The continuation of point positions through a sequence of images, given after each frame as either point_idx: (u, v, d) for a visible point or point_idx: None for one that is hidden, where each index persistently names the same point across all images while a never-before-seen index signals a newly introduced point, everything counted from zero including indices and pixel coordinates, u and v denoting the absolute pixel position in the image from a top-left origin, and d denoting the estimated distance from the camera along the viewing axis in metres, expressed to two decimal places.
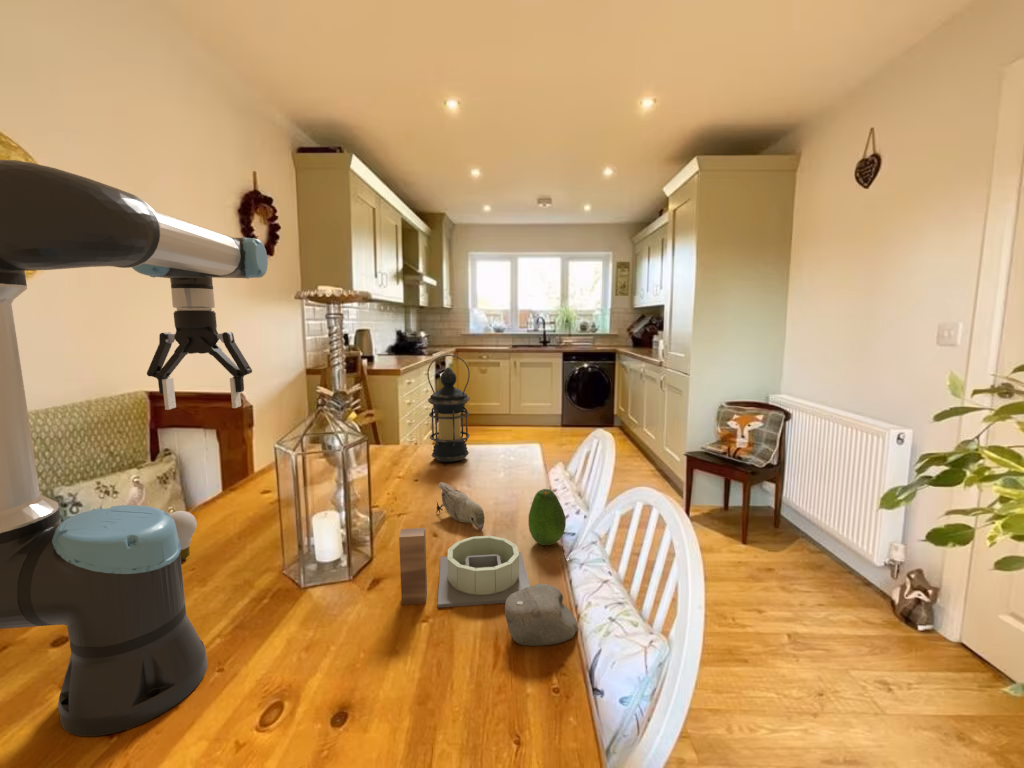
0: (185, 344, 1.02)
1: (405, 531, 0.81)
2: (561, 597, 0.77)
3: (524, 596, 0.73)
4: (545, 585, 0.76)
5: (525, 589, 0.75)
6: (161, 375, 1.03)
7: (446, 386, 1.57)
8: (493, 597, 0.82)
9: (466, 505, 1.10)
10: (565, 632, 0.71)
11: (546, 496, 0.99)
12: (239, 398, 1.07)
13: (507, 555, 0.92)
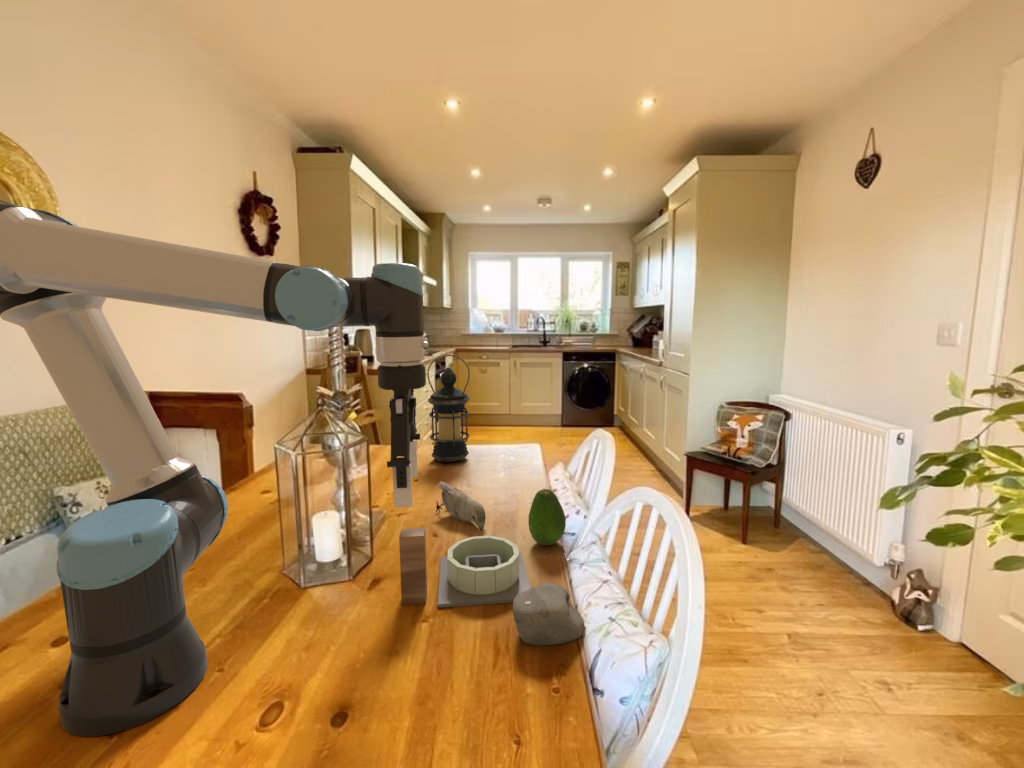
0: None
1: (405, 531, 0.81)
2: (568, 596, 0.77)
3: (531, 595, 0.73)
4: (552, 585, 0.76)
5: (532, 589, 0.75)
6: None
7: (446, 386, 1.57)
8: (493, 597, 0.82)
9: (467, 504, 1.10)
10: (573, 632, 0.71)
11: (546, 496, 0.99)
12: (407, 495, 0.73)
13: (507, 555, 0.92)
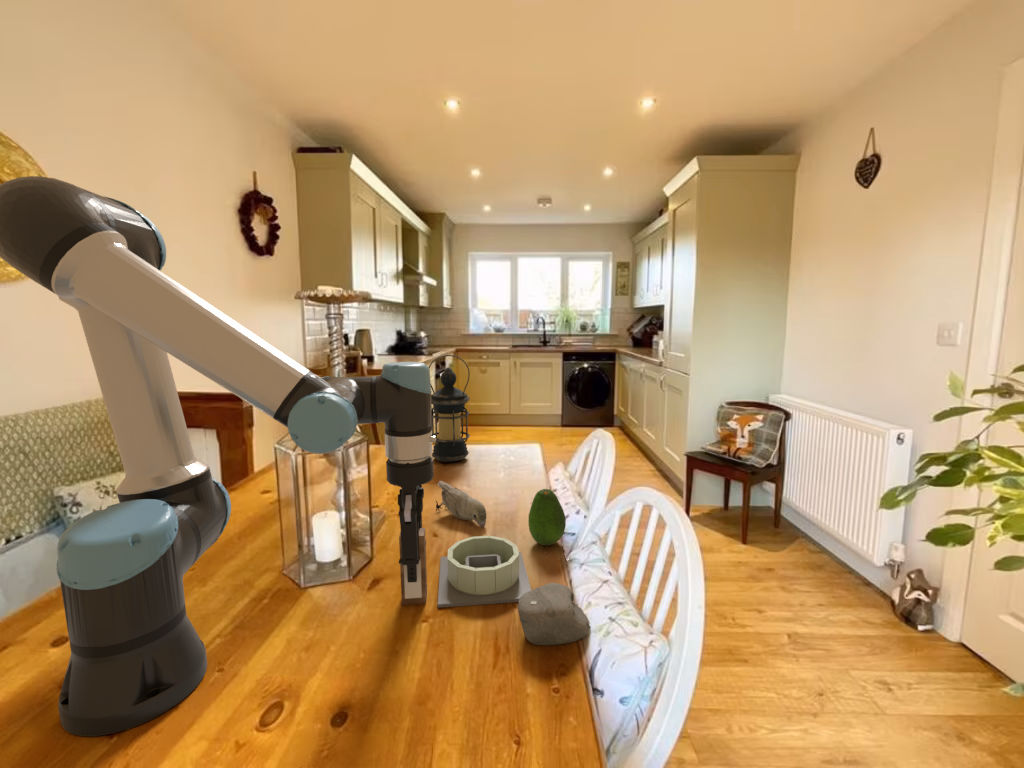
0: None
1: None
2: (572, 596, 0.77)
3: (537, 595, 0.73)
4: (556, 584, 0.76)
5: (537, 589, 0.75)
6: None
7: (446, 386, 1.57)
8: (493, 597, 0.82)
9: (468, 503, 1.11)
10: (578, 631, 0.71)
11: (546, 496, 0.99)
12: (417, 588, 0.80)
13: (507, 555, 0.92)
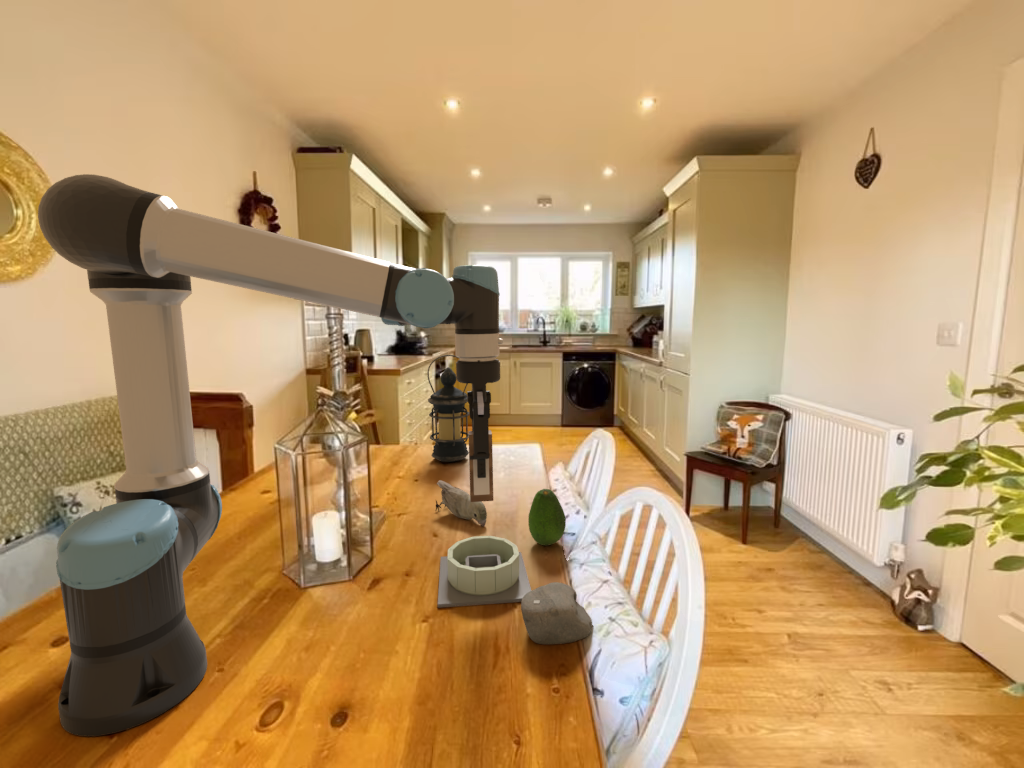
0: None
1: None
2: (575, 595, 0.77)
3: (540, 595, 0.74)
4: (559, 584, 0.77)
5: (540, 588, 0.76)
6: None
7: (446, 386, 1.57)
8: (493, 597, 0.82)
9: (468, 502, 1.12)
10: (581, 630, 0.71)
11: (546, 496, 0.99)
12: (485, 484, 0.84)
13: (507, 555, 0.92)
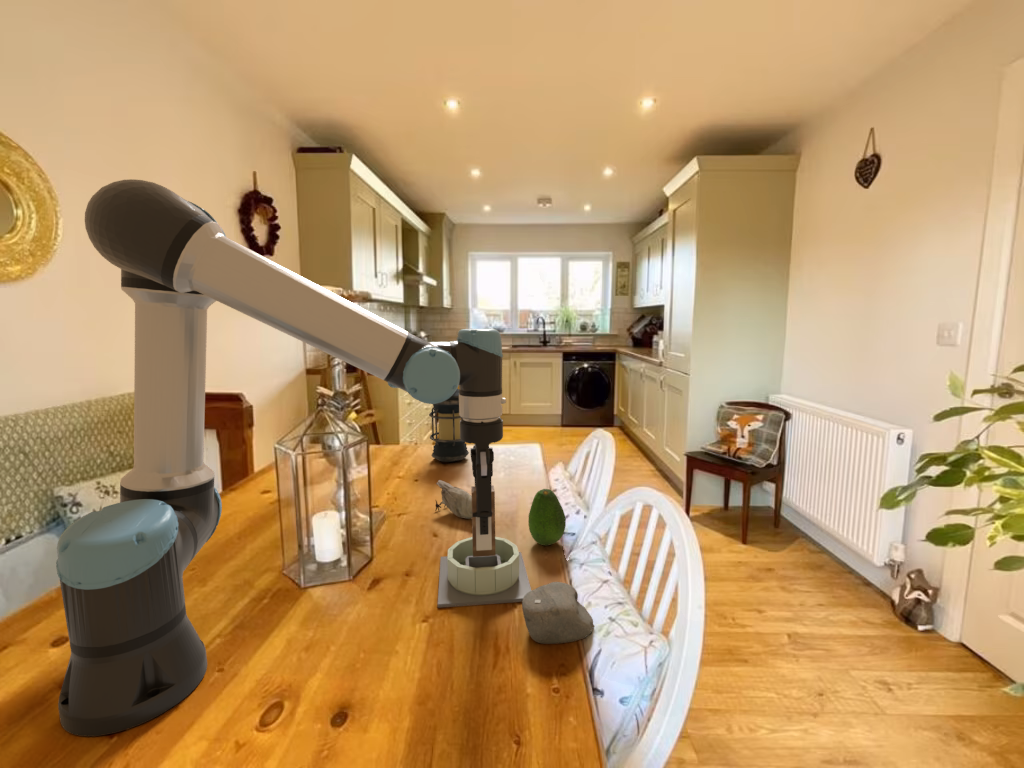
0: None
1: None
2: (576, 595, 0.77)
3: (541, 594, 0.74)
4: (560, 583, 0.77)
5: (541, 587, 0.76)
6: None
7: None
8: (493, 597, 0.82)
9: (469, 501, 1.12)
10: (582, 630, 0.72)
11: (546, 496, 0.99)
12: (488, 540, 0.86)
13: (507, 555, 0.92)
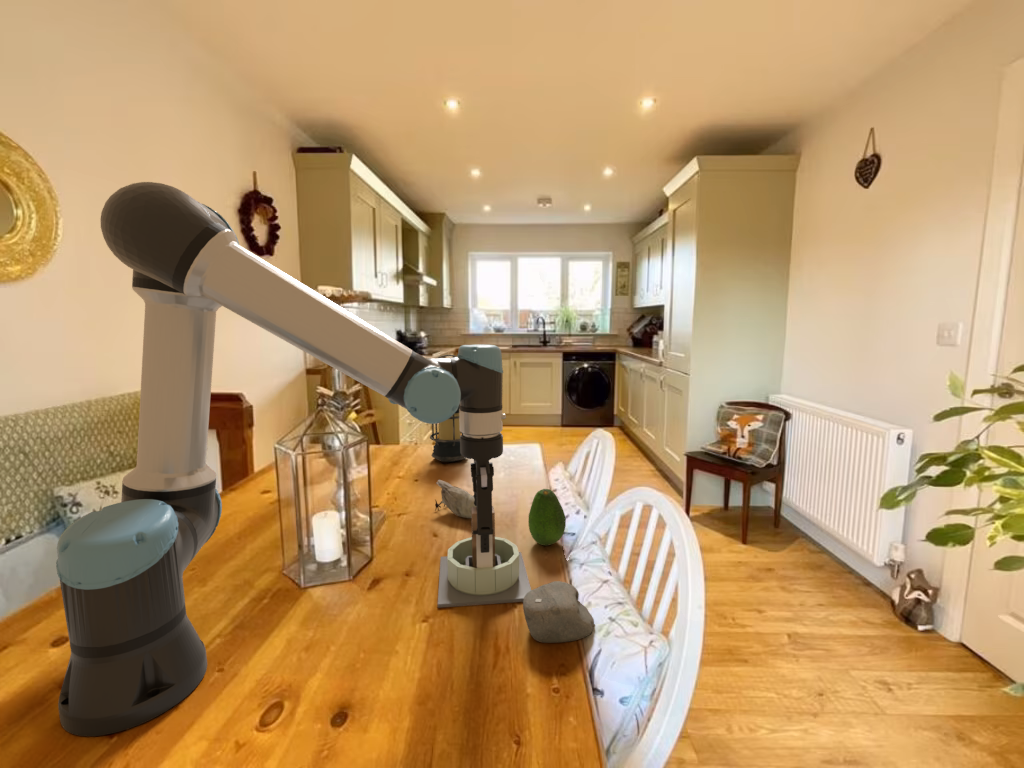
0: None
1: (476, 509, 0.87)
2: (577, 594, 0.77)
3: (541, 593, 0.74)
4: (561, 582, 0.77)
5: (542, 587, 0.76)
6: (474, 502, 0.93)
7: None
8: (493, 597, 0.82)
9: (469, 501, 1.12)
10: (583, 629, 0.72)
11: (546, 496, 0.99)
12: (489, 558, 0.83)
13: (507, 555, 0.92)
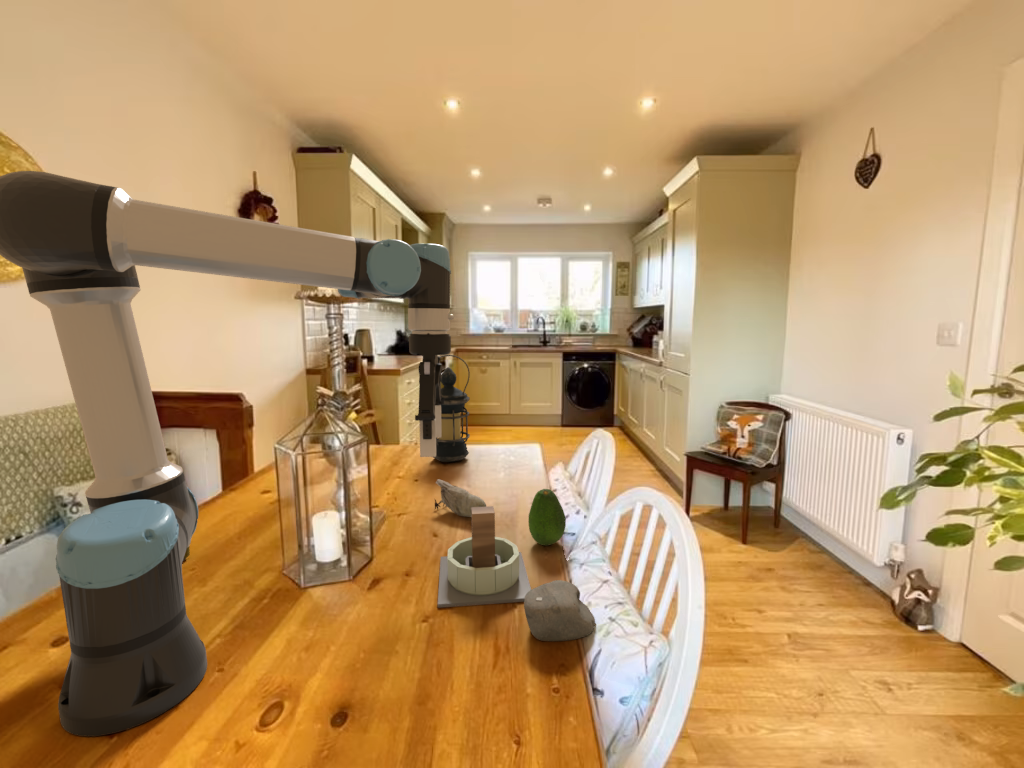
0: None
1: (476, 509, 0.87)
2: (578, 593, 0.78)
3: (542, 592, 0.74)
4: (563, 581, 0.77)
5: (543, 585, 0.76)
6: None
7: (446, 386, 1.57)
8: (493, 597, 0.82)
9: (469, 500, 1.13)
10: (583, 628, 0.72)
11: (546, 496, 0.99)
12: (432, 447, 0.84)
13: (507, 555, 0.92)
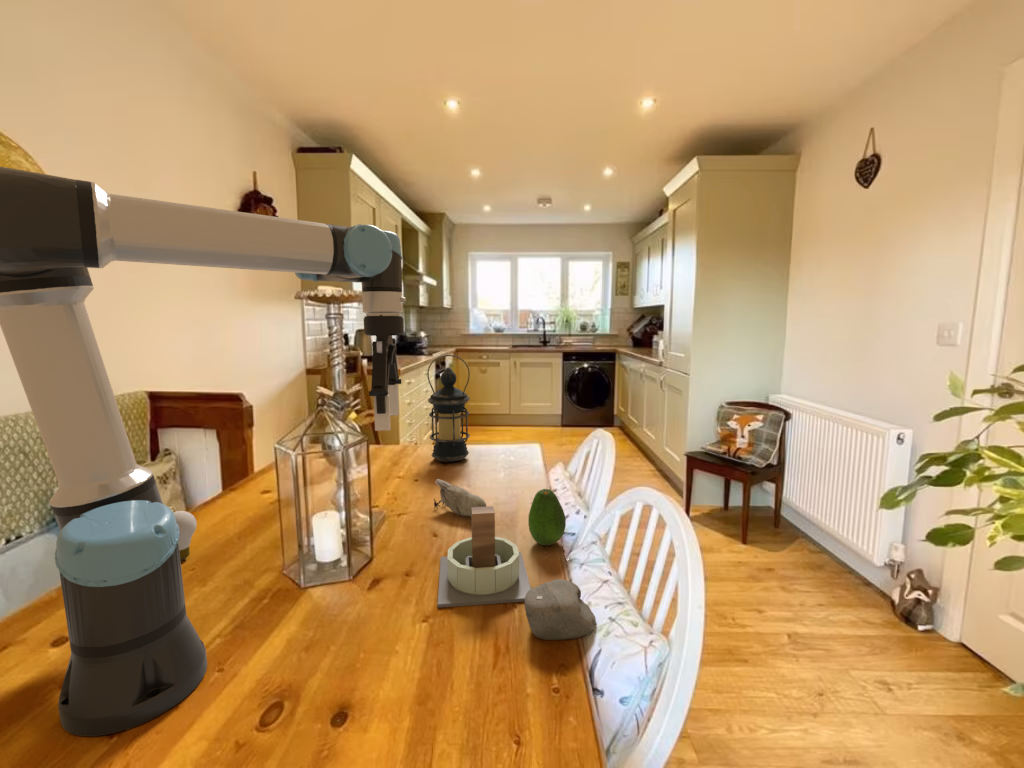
0: None
1: (476, 509, 0.87)
2: (579, 593, 0.78)
3: (543, 591, 0.75)
4: (563, 581, 0.77)
5: (544, 584, 0.77)
6: None
7: (446, 386, 1.57)
8: (493, 597, 0.82)
9: (469, 499, 1.13)
10: (584, 627, 0.72)
11: (546, 496, 0.99)
12: (386, 421, 0.90)
13: (507, 555, 0.92)
